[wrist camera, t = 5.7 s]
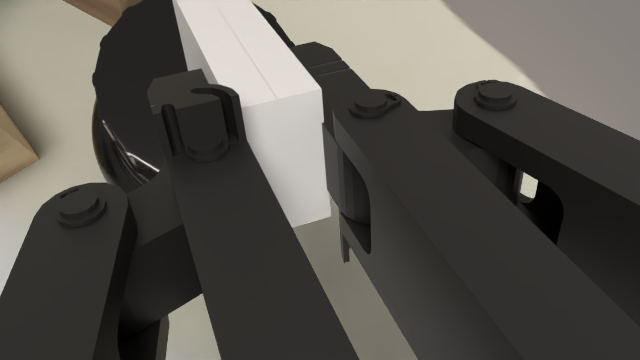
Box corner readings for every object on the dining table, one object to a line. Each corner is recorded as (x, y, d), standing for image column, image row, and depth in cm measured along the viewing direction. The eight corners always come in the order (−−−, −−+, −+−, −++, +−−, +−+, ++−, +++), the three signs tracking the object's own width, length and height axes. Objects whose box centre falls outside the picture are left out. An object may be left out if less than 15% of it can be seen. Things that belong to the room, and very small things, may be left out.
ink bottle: (111, 255, 29) (54, 234, 17) (95, 84, 30) (32, -40, 19) (303, 229, 31) (365, 195, 20) (280, 71, 32) (326, -48, 21)
